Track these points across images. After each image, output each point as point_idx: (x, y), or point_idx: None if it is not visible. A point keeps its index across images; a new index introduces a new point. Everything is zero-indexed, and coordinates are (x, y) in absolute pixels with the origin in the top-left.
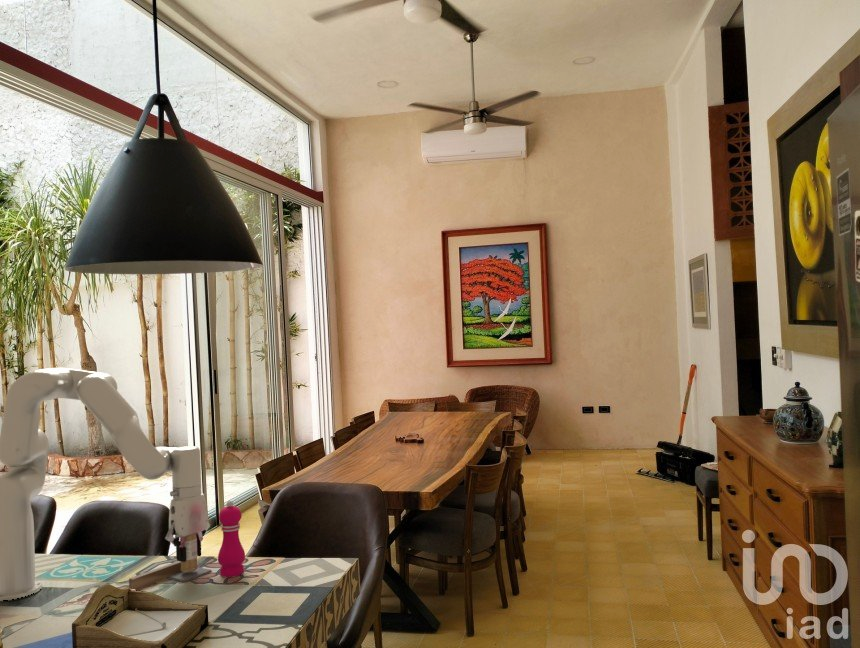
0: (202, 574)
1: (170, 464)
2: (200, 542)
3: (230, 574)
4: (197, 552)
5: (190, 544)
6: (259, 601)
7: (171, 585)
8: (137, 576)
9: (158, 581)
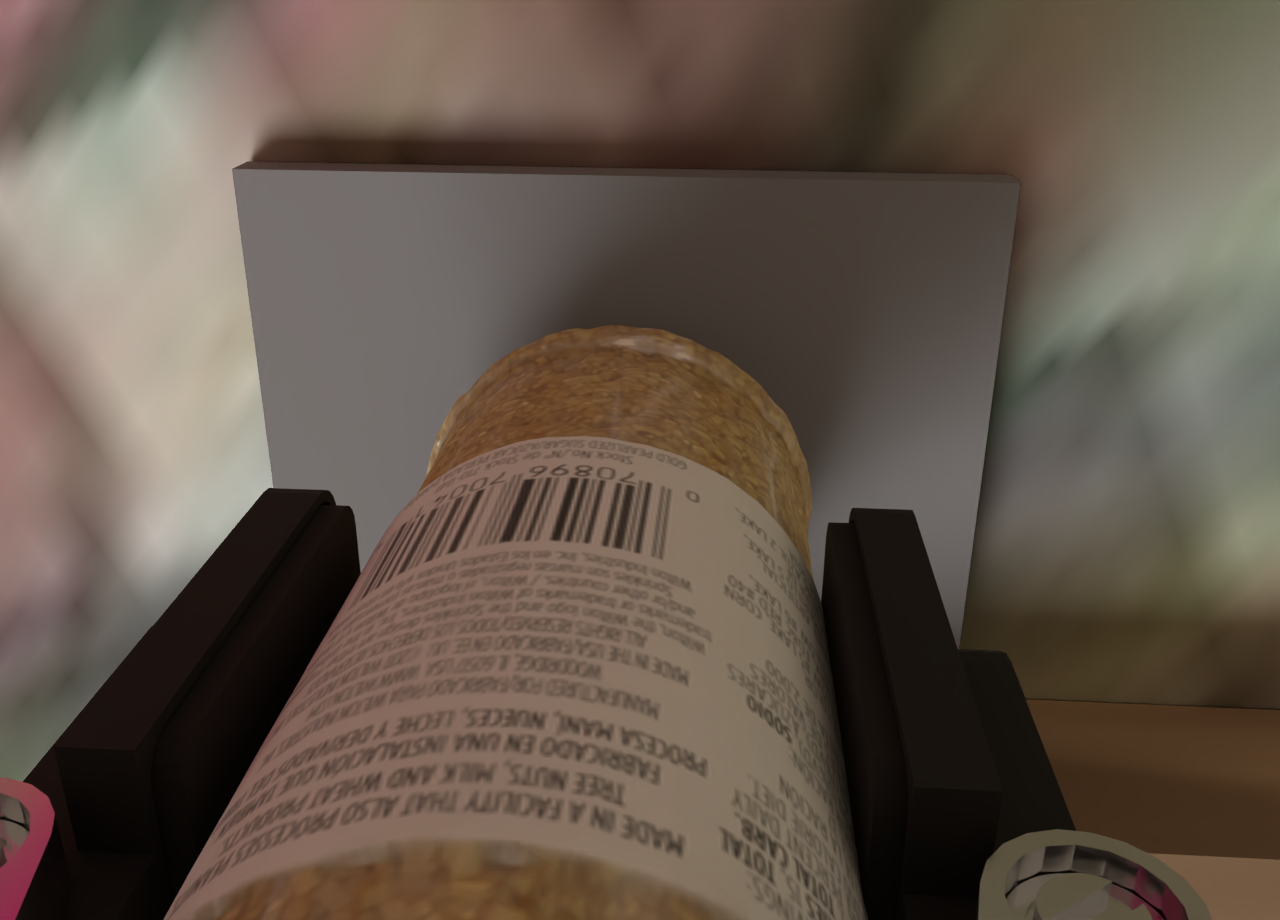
0: (507, 167)
1: None
2: (90, 727)
3: None
4: (326, 601)
5: (683, 760)
6: None
7: (1264, 299)
8: None
9: (1149, 706)
